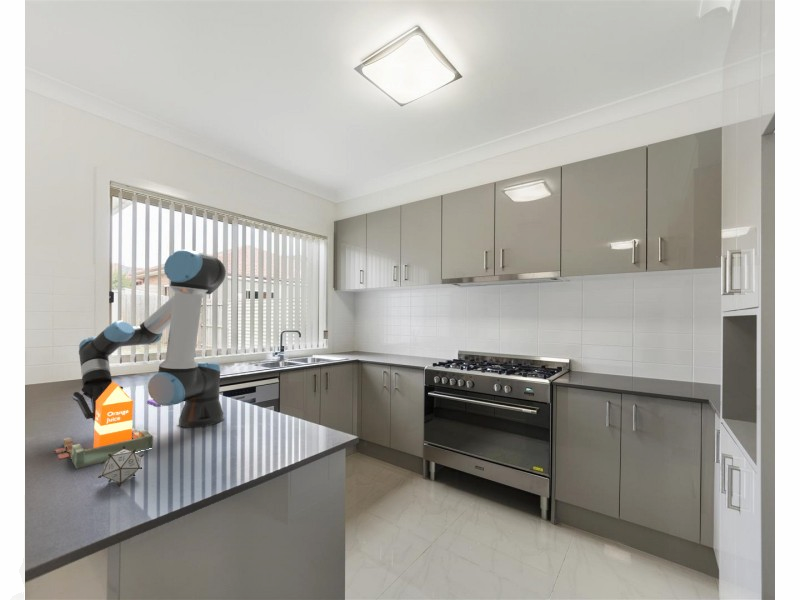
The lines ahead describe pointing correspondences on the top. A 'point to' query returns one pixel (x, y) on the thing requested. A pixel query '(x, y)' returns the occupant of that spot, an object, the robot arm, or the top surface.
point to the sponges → (152, 402)
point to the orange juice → (113, 417)
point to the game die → (121, 465)
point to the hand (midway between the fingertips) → (104, 434)
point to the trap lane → (107, 448)
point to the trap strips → (61, 454)
